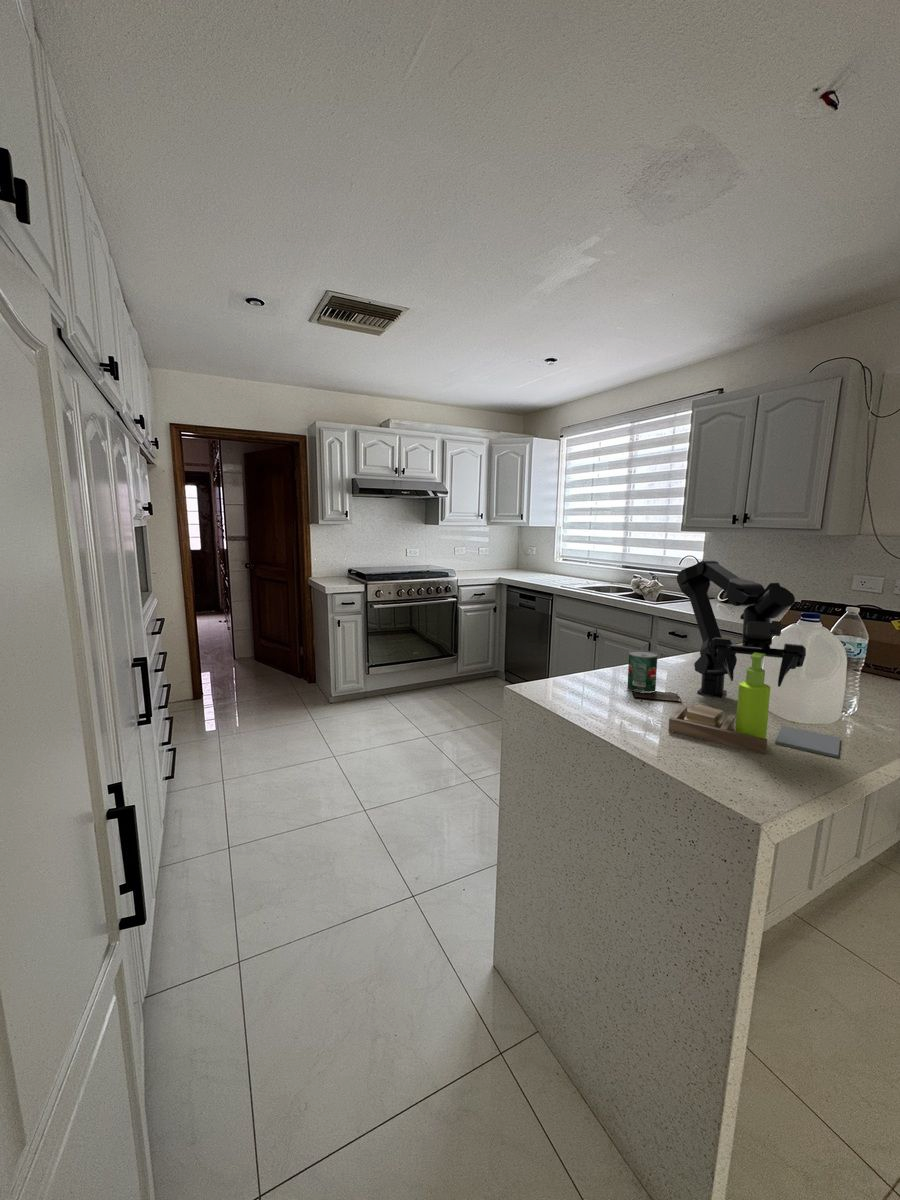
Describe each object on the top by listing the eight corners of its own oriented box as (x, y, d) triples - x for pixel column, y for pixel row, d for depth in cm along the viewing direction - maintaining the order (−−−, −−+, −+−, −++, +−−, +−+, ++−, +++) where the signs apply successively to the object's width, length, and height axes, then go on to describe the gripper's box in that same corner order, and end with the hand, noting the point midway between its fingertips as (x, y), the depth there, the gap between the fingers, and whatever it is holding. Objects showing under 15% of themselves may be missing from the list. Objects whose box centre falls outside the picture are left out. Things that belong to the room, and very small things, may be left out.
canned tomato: (624, 684, 149) (626, 649, 148) (651, 685, 148) (653, 650, 147) (630, 693, 142) (632, 656, 140) (659, 694, 141) (661, 657, 139)
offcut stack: (689, 720, 122) (691, 702, 121) (722, 727, 117) (723, 709, 117) (680, 730, 116) (681, 712, 115) (714, 738, 111) (716, 720, 110)
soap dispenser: (768, 739, 111) (776, 653, 108) (762, 749, 106) (770, 659, 103) (739, 732, 115) (746, 649, 112) (731, 741, 110) (738, 655, 107)
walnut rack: (681, 716, 124) (682, 705, 124) (772, 737, 112) (773, 724, 111) (668, 730, 116) (669, 718, 115) (765, 754, 103) (766, 741, 103)
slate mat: (781, 727, 117) (781, 725, 117) (840, 740, 110) (840, 737, 110) (775, 743, 108) (775, 741, 108) (838, 758, 101) (838, 755, 101)
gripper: (714, 605, 119) (710, 659, 111) (808, 610, 110) (811, 670, 102) (713, 630, 127) (709, 683, 119) (801, 637, 118) (802, 695, 110)
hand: (755, 682), depth 112 cm, fingers open, 9 cm apart
